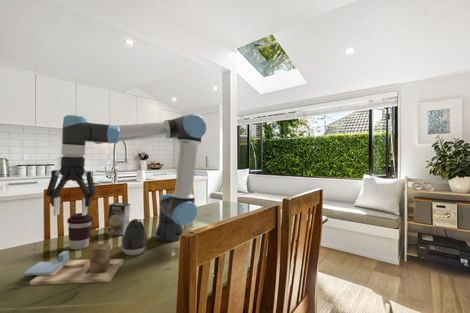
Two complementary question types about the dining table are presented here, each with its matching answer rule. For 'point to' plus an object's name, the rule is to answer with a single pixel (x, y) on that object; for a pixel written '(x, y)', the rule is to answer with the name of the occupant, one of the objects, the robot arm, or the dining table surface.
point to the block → (100, 258)
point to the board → (77, 273)
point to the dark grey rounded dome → (134, 238)
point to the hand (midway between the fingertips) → (70, 214)
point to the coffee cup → (79, 230)
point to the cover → (48, 265)
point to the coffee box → (118, 218)
